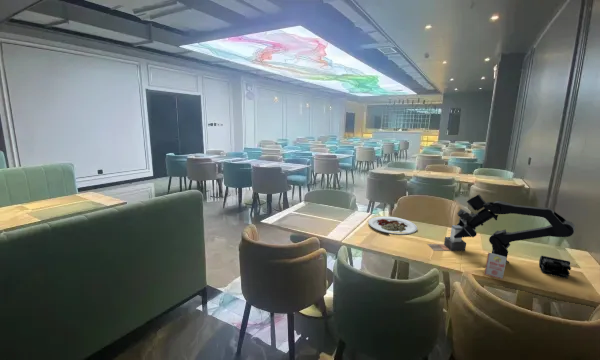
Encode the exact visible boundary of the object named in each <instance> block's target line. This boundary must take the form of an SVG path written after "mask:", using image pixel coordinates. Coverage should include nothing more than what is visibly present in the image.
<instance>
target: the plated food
mask: <svg viewBox="0 0 600 360" xmlns="http://www.w3.org/2000/svg"><path fill="white" fill-rule="evenodd" d="M368 225H369V226H370V227H371V228H373V229H374V230H376V231H379V232H382V233H386V234H392V235H410V234H414V233H415V232H417V230H418V226H417V225H416V224H415V223H414V222H412V221H410V220H407V219H405V218H401V217H396V216H375V217H371V218H370V219H368Z"/></svg>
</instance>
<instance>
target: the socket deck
mask: <svg viewBox="0 0 600 360" xmlns="http://www.w3.org/2000/svg"><path fill="white" fill-rule="evenodd" d="M427 246H428V247H429V248H430V249H432V251H433V252H466V246H467V242H466V241H465V240H463V239H462V241H461V242H453V241H451V240H450V236H445V238H444V242H443V243H433V244H432V243H427Z"/></svg>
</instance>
